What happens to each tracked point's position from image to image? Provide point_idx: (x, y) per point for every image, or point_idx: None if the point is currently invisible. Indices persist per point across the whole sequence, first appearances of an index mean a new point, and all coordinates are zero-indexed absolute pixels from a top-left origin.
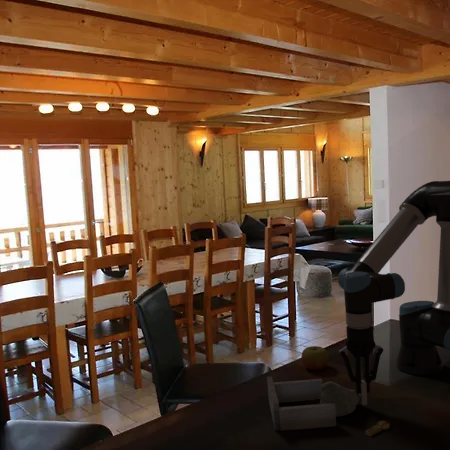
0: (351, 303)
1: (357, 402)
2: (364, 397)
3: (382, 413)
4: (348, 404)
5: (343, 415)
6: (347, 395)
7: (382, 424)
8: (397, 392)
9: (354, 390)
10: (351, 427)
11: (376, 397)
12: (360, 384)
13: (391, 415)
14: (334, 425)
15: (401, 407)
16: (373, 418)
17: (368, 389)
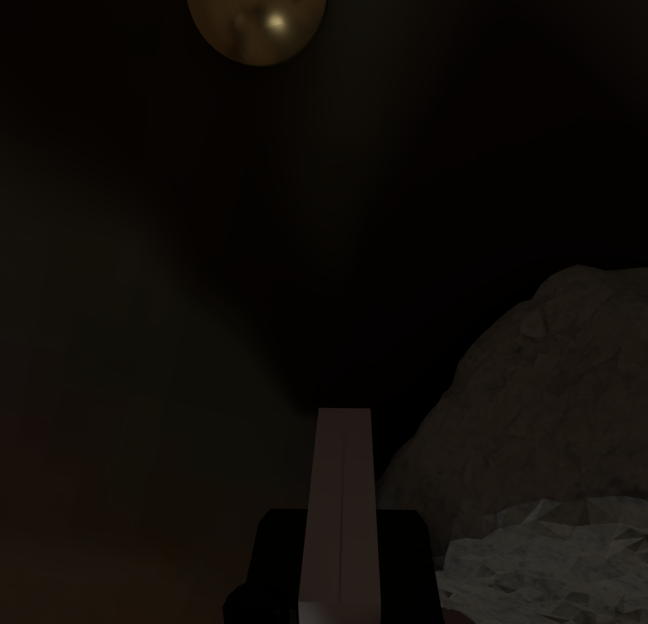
0: None
1: (432, 415)
2: (343, 458)
3: (201, 295)
4: (600, 327)
5: (622, 270)
6: (640, 416)
7: None
8: (5, 608)
9: (452, 561)
10: (612, 43)
11: (187, 568)
12: (383, 610)
13: (125, 242)
14: None
15: (7, 375)
16: (314, 210)
17: (273, 539)
